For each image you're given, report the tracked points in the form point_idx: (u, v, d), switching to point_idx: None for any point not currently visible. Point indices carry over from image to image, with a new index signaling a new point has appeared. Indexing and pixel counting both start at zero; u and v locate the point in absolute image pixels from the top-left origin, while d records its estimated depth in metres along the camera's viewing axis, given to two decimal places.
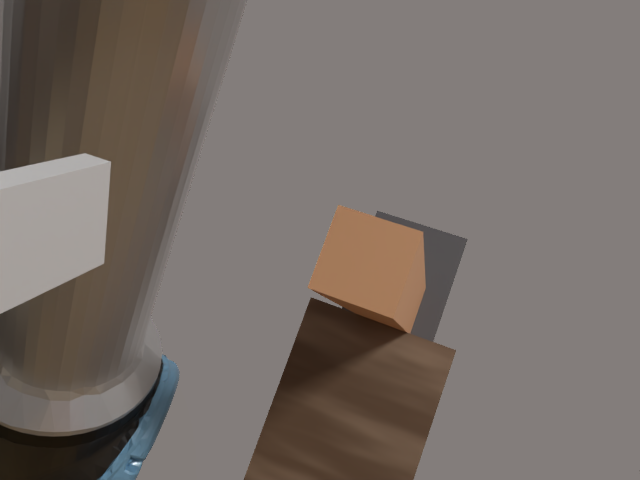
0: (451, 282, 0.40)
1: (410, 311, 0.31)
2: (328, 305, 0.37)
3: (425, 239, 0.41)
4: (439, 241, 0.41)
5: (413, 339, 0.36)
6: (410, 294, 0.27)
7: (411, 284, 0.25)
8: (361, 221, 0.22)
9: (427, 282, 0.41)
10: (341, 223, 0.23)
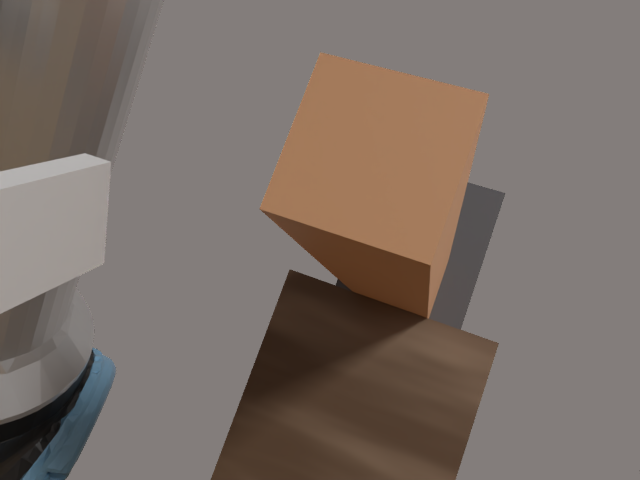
0: (484, 251, 0.29)
1: (437, 281, 0.20)
2: (314, 280, 0.26)
3: None
4: (466, 196, 0.30)
5: (436, 327, 0.25)
6: (446, 243, 0.16)
7: (452, 219, 0.14)
8: (365, 80, 0.11)
9: (450, 252, 0.30)
10: (326, 86, 0.12)
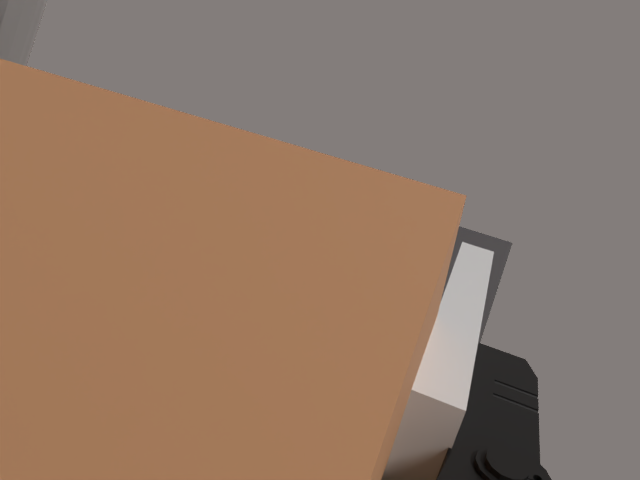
0: (482, 327, 0.21)
1: None
2: None
3: None
4: (457, 246, 0.21)
5: None
6: (388, 458, 0.07)
7: (387, 457, 0.06)
8: None
9: None
10: None
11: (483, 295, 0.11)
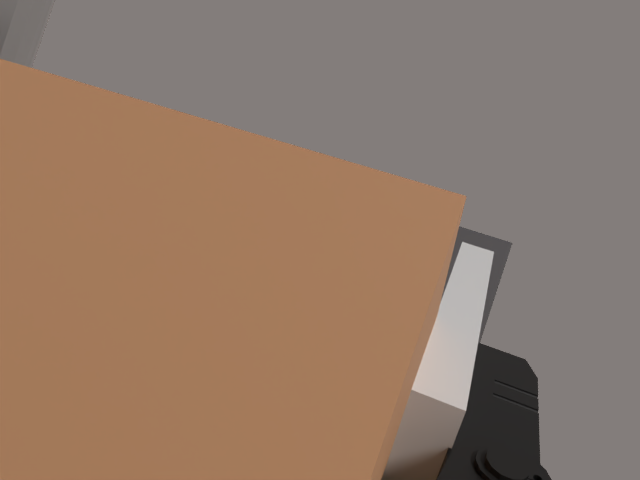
0: (482, 327, 0.21)
1: None
2: None
3: None
4: (457, 246, 0.21)
5: None
6: (388, 458, 0.07)
7: (387, 457, 0.06)
8: None
9: None
10: None
11: (483, 295, 0.11)
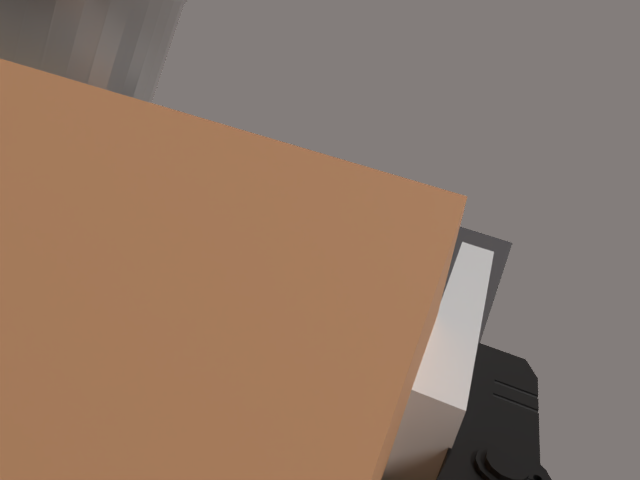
0: (482, 327, 0.21)
1: None
2: None
3: None
4: (457, 246, 0.22)
5: None
6: (388, 458, 0.07)
7: (387, 457, 0.06)
8: None
9: None
10: None
11: (483, 295, 0.11)
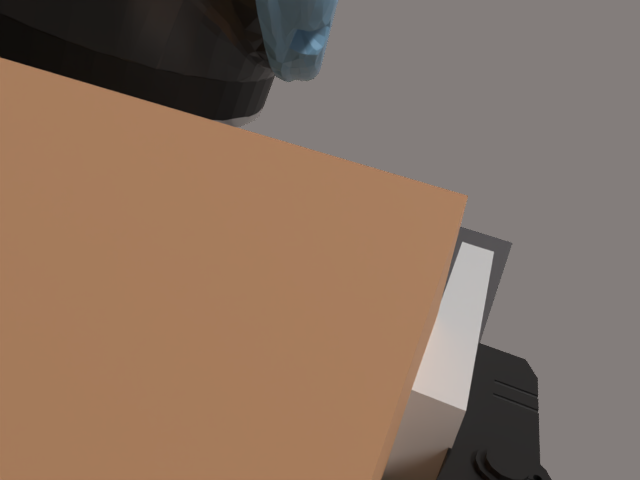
0: (481, 327, 0.21)
1: None
2: None
3: None
4: (457, 246, 0.21)
5: None
6: (388, 458, 0.07)
7: (387, 457, 0.06)
8: None
9: None
10: None
11: (483, 295, 0.11)
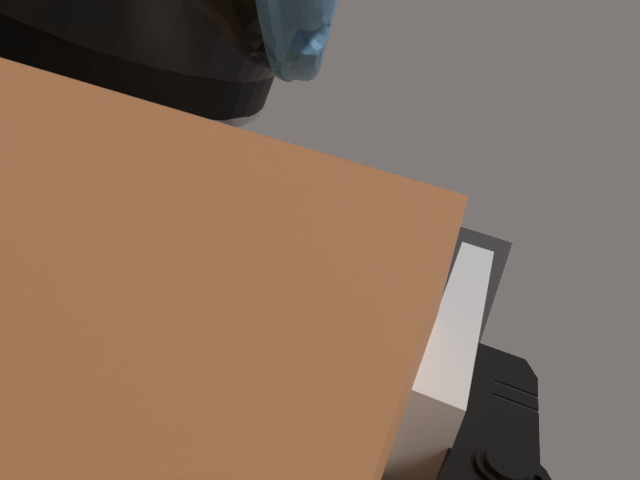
0: (481, 327, 0.21)
1: None
2: None
3: None
4: (457, 246, 0.21)
5: None
6: (388, 458, 0.07)
7: (387, 457, 0.06)
8: None
9: None
10: None
11: (483, 295, 0.11)
